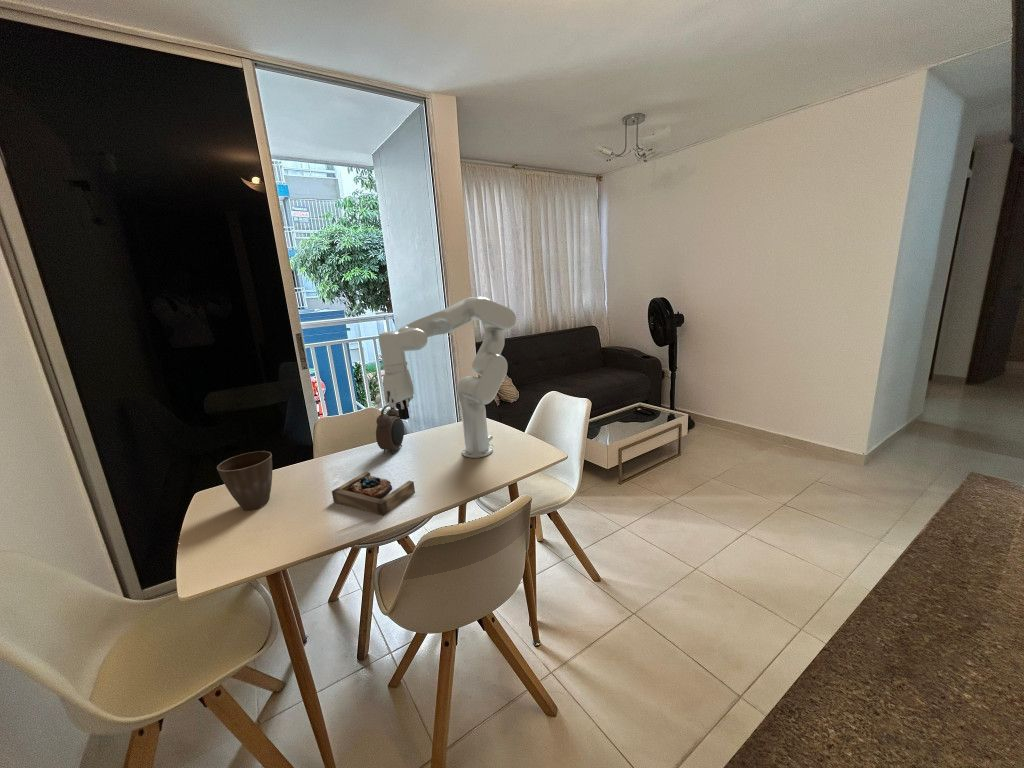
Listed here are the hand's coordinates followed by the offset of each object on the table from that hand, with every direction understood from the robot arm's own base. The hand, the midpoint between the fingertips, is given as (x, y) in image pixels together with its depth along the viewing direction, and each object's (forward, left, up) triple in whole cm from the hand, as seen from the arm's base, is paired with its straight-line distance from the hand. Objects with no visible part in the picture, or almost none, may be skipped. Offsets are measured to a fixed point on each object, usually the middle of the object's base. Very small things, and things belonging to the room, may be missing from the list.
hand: (404, 418), depth 137 cm
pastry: (+15, -5, -23) cm, 27 cm away
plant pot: (+34, -38, -22) cm, 56 cm away
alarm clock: (-16, -24, -22) cm, 36 cm away
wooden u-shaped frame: (+16, -2, -22) cm, 28 cm away
